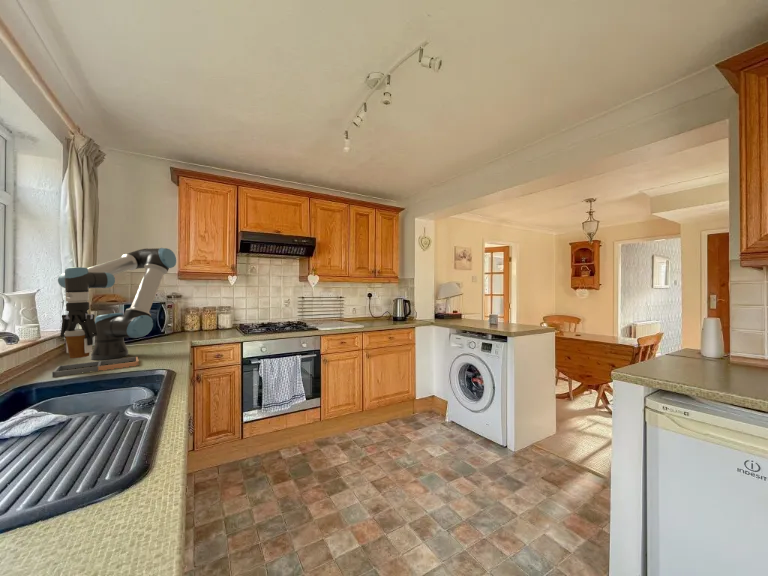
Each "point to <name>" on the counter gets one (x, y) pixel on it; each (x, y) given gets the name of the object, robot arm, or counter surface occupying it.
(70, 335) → the disposable coffee cup
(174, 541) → the counter surface
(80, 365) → the cup carrier
